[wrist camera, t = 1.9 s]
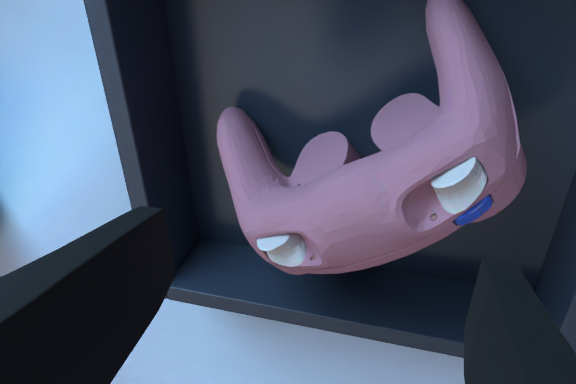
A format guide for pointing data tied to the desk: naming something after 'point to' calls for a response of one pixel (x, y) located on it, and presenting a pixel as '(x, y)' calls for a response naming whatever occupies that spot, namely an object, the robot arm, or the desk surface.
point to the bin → (355, 127)
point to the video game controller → (386, 166)
